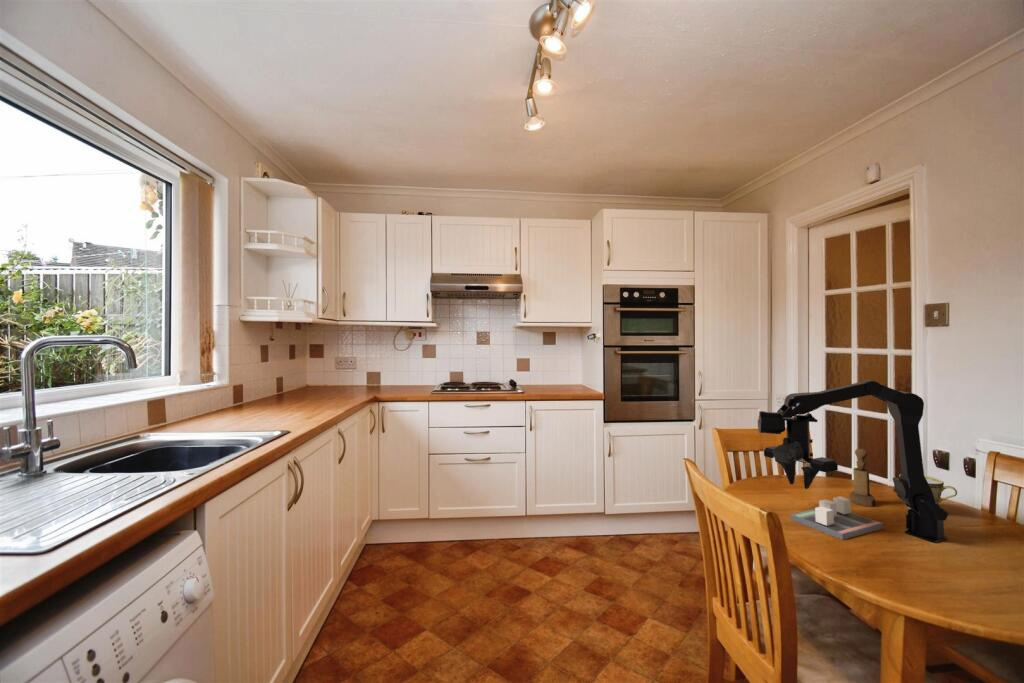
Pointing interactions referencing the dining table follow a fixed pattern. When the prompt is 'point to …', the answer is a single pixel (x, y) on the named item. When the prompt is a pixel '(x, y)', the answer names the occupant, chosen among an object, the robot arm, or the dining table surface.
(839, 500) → the white block
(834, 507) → the handle
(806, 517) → the breaker panel
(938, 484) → the ceramic cup
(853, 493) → the brown statuette
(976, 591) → the dining table surface
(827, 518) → the handle
